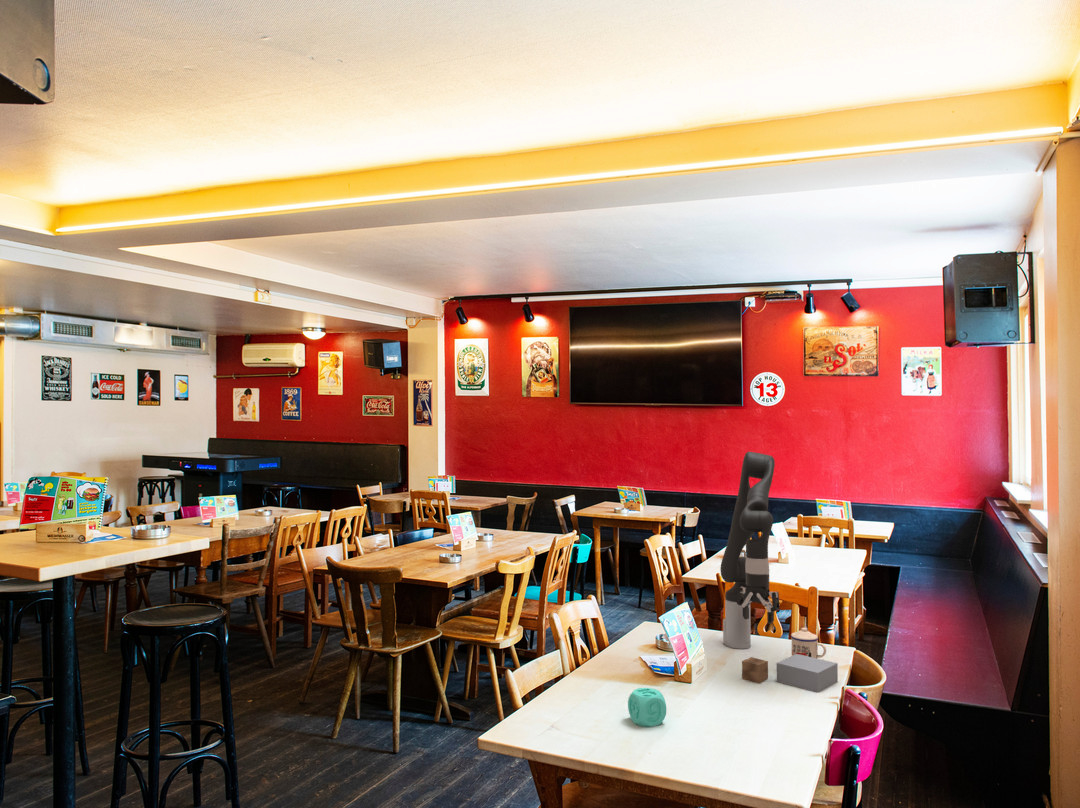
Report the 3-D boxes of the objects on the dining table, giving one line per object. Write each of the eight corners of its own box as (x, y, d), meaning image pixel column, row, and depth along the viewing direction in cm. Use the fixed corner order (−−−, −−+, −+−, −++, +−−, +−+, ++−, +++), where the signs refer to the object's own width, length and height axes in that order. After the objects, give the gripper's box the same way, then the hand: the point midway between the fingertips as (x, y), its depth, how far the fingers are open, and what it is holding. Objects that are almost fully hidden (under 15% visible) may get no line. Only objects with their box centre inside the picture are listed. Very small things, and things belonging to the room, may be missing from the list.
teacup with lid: (787, 662, 260) (787, 628, 261) (796, 656, 267) (795, 623, 268) (822, 668, 253) (821, 634, 253) (830, 662, 260) (829, 629, 260)
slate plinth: (776, 681, 240) (776, 662, 240) (796, 671, 250) (796, 653, 250) (818, 692, 230) (818, 672, 230) (837, 681, 240) (837, 663, 240)
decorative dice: (652, 714, 211) (652, 686, 212) (666, 724, 204) (666, 695, 204) (627, 718, 209) (627, 689, 209) (641, 728, 201) (641, 699, 201)
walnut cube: (742, 679, 242) (742, 660, 242) (751, 675, 246) (751, 657, 246) (758, 683, 238) (758, 665, 238) (768, 679, 242) (767, 661, 242)
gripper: (732, 570, 246) (733, 619, 246) (771, 575, 236) (772, 626, 235) (743, 567, 252) (744, 615, 251) (782, 572, 242) (783, 622, 241)
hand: (758, 621), depth 243 cm, fingers open, 8 cm apart
